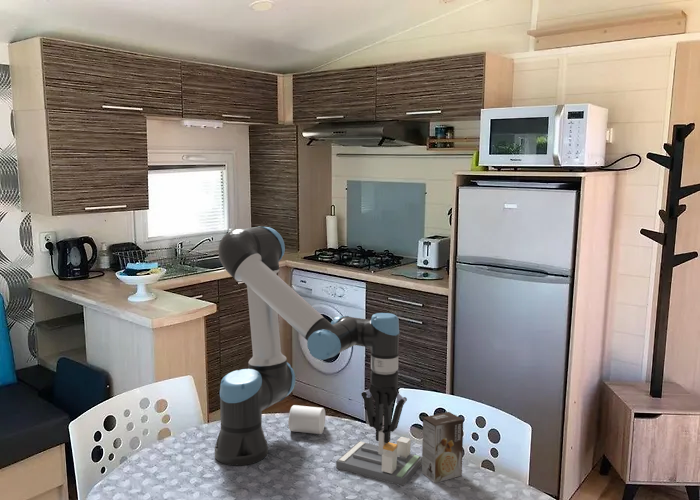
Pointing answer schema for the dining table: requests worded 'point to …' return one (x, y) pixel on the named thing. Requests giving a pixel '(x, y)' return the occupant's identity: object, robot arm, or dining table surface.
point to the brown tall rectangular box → (442, 446)
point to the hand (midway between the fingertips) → (382, 452)
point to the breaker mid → (390, 447)
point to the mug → (306, 419)
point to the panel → (377, 464)
